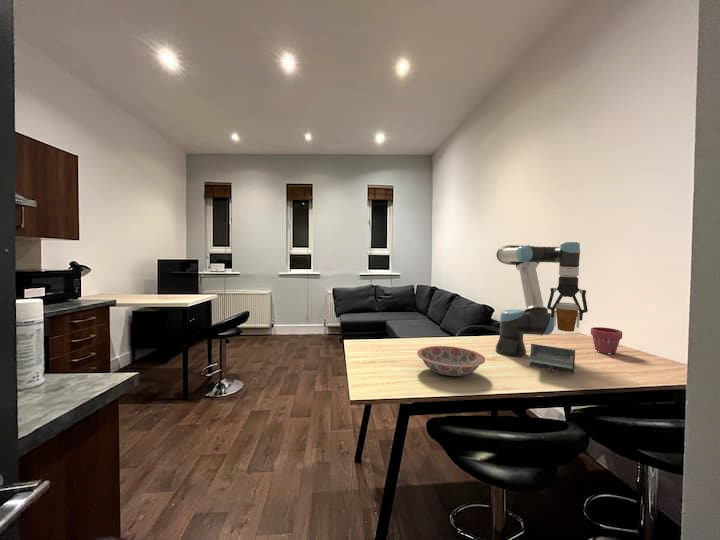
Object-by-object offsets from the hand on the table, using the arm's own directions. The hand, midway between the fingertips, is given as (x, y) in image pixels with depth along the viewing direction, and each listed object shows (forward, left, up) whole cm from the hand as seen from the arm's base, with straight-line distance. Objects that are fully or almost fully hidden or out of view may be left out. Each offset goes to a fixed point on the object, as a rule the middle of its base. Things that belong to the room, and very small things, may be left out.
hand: (565, 326), depth 150 cm
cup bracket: (-5, -4, -21) cm, 22 cm away
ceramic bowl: (-43, -32, -21) cm, 57 cm away
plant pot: (+19, +52, -21) cm, 60 cm away
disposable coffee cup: (0, 0, -2) cm, 2 cm away
